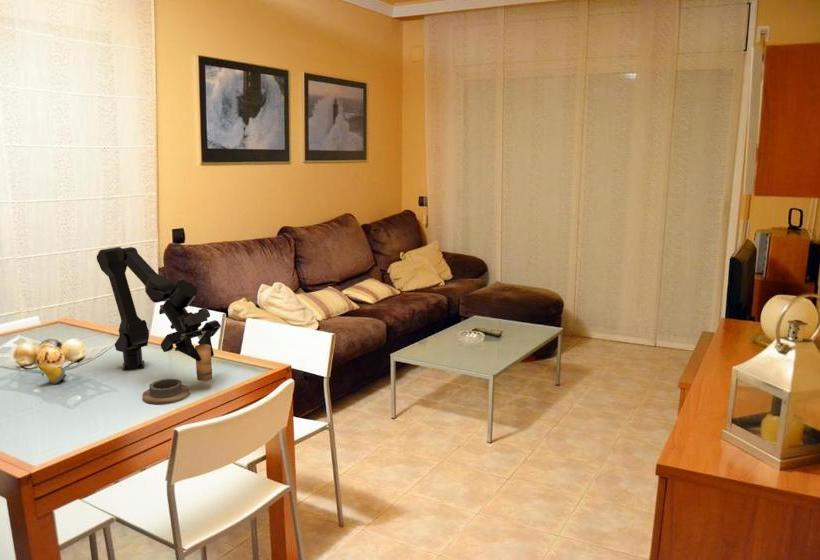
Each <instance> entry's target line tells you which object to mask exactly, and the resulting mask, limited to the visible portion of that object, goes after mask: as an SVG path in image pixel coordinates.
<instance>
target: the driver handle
mask: <svg viewBox="0 0 820 560" xmlns="http://www.w3.org/2000/svg"><path fill="white" fill-rule="evenodd" d="M194 348H195V349H196V351H197V352H198V354H199V355H200V357H201V361H197V360H195V366H196V367H195V368H196V370H195V371H196V379H197V381H199V382H207V381H210V380H212V379H213V367H212V364H213V363H212V362H213V361H212V357H211V346H210V345H208V344H201V345H199V344H197V345H194Z"/></svg>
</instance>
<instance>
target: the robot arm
mask: <svg viewBox="0 0 820 560" xmlns="http://www.w3.org/2000/svg"><path fill="white" fill-rule="evenodd" d="M96 261H97V263H98V265H99V268H100V270H101V271H102V272H103V274H105V275H106V276H107V277H108V279H109V283H110V285H111V289H112V292H113V293H112V294H113V295H114V296H113V297H114V300H115V303H116V306H117V310H118V314H119V317H120V324H119V327H118V334H119V337H118V338H117V340H116V341H115V343H114V348H115V350H116V351H117V352H120V353H122V355H123V357H122V358H123V363H122V371H127V370H134V369H135V370H137V369H144V368H145V360H143V352H142V351H143V350H142V348H144V347H147V346H148V345H149V338H150V329H148V325H147V324H148V323H147V321H146V320H145V319H143V320H142V319H141V318H140V317H139V316H138V313H137V311H136V305H135V303H134V299H133V296H132V292H131V289H130V286H129V282H128V279H127V275H126V271H127V268H129V270H130V271H131V272H132V273H133V274H134V275H135V276H136V278H137V279H139V281H140V282H141V283H142V284H143V285H144V288H145V289H144V290H145V294H146V295H147V296H148V298H149V299H150V300H151V301H152V302H153V303H161V302H164V303H163V304H160V306H159V311H158V314H159V315H164V314H165V316H166V317H167V319H168V320H169V322H170V323H171V325H170V326H169V327H170V328H171V330H173V329H175V330H174V331H175V332H171V333H168V334H167V335H166V336H165V337H164V338H163V340H161V342H160V348H161V350H162V351H163V352H164V353H167V352H170V351H172V350H173V349H174V351H175V352H177V351H178V352H179V353H182V354H185V355H186V356H189V357H190V358H192V359H194V360H195V361H196V360H197V361H201V357H200V355H199V354H198V352H197V351H196V349H195V345H193V342H192V339H194V338H196V337H197V338H198V341H197V345H201V344H208V345H210V346H211V358H212V357H214V356H215V354H214V349H213V345H212V337H213V336H215V335H216V333H217V332H218V331H219V329H221V327H222V325H221V324H220V322H219V321H218V320H216V319H214V320H212V321H208V320H209V318H210V317H211V313H210V311H209V309H207V307H205V306H204V307H202V308H201V309H200V308H199V309H198V311H197V312H194V313H193V312H192V311H190V312H189V311H188V310H187V309H186V308H187V307H189V305H190V304H191V303H192V301H194V299H195V298H196V296H197V295H198V288H197V287H196V285H194V284H192V283H191V282H190V281H189V282H188V281H186V280H185V279H183V278H181V279H177V282H176V284H175V283H174V282H173V281H171V280H170V279H168V277H165V276H163V275H160V274H158V273H157V272H156V271H155V270H154V269H153V267H152V266H151V265H149V264H148V263H147V262H146V260H145V259H144V258H143V257H142V256H141V255H140V254H139V251H138V250H137V247H133V246H130V247H124V248H122V247H121V246H115V247H110V248H103V249H100V250H99V251H98V253H97V255H96ZM203 322H205V324H204V325H203V324H202V323H203ZM202 325H203V326H202ZM201 326H202V327H201ZM200 327H201V328H200ZM174 345H175V348H174Z"/></svg>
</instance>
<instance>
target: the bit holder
mask: <svg viewBox="0 0 820 560" xmlns="http://www.w3.org/2000/svg"><path fill="white" fill-rule="evenodd" d="M148 385H149V386H148V388H149V389H147V390H145V391H144V392H143V393H142V395H141V396H142V397H141V398H142V401H143V402H144V403H146V404H150V405H167V404H168V405H169V404H170V405H171V404H175V403H178V402H180V401H183V400H185V399H187V398H189V396H190V395H191V389H190V387H189V386H188V385H184V384H183V382H182V380H181V379H178V378H163V379H158V380H156V381H153V382H152V383H150V384H148Z"/></svg>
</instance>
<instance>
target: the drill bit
mask: <svg viewBox="0 0 820 560" xmlns="http://www.w3.org/2000/svg"><path fill="white" fill-rule="evenodd" d="M37 365H38V367H39V369H40V370H41V371H42V373H44V375H45V376H46V377H47V378H48V379H47V380H48V382H49V383H51V384H53V385H56V384H57V383H59V382H60V381H65V380H66V378H67V375H68V374H66V371H65V368H64V367H62V366H57V367H56V366H49V365H42V364H41V365H39V364H37Z"/></svg>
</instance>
